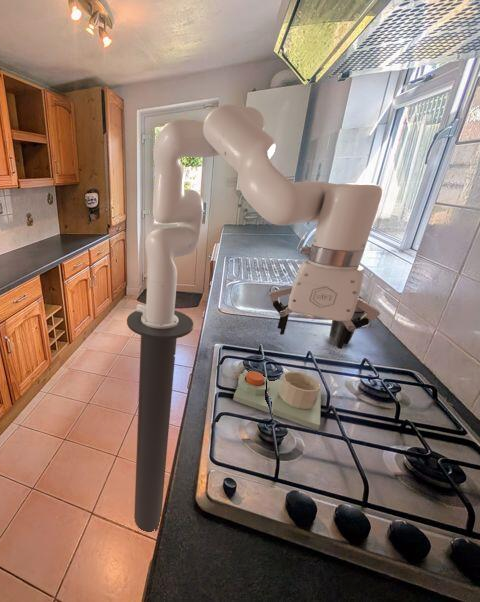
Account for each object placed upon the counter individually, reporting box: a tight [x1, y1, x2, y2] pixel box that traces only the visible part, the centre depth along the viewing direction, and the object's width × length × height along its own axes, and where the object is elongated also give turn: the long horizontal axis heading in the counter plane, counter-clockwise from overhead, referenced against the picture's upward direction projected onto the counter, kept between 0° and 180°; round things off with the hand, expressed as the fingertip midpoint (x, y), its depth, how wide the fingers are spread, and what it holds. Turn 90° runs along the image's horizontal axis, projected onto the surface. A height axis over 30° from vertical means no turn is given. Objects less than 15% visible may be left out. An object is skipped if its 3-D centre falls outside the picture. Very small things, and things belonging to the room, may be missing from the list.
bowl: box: [279, 370, 322, 409], centre depth 65 cm, size 7×7×5 cm
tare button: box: [246, 370, 264, 386], centre depth 70 cm, size 4×4×2 cm
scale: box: [232, 369, 322, 431], centre depth 68 cm, size 16×12×3 cm
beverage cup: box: [328, 295, 366, 348], centre depth 87 cm, size 7×7×20 cm
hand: (309, 338), depth 61 cm, fingers open, 9 cm apart
